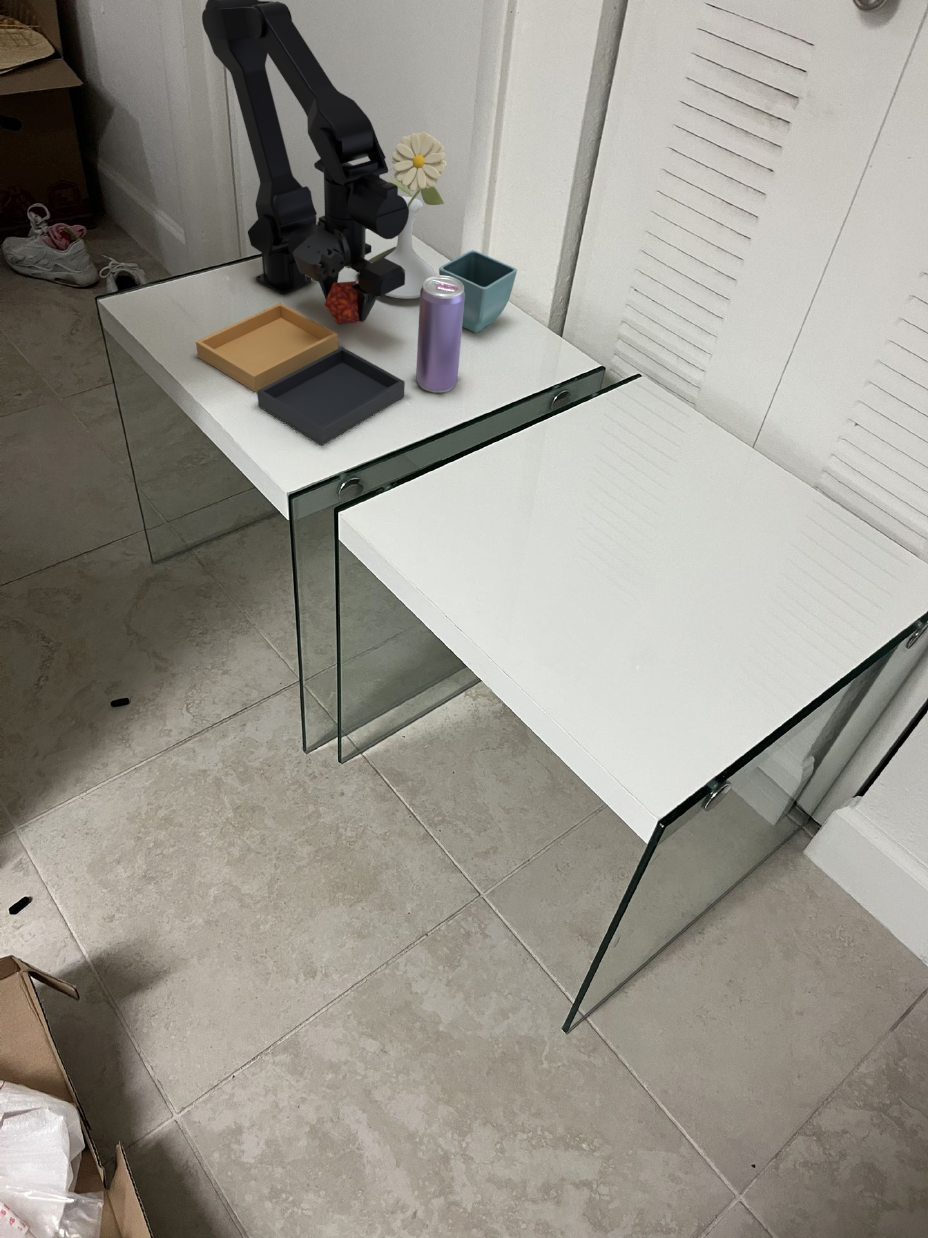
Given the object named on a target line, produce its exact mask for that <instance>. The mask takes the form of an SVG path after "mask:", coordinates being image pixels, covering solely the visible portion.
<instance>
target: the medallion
mask: <svg viewBox="0 0 928 1238" xmlns="http://www.w3.org/2000/svg"><path fill="white" fill-rule="evenodd" d="M396 247H397V245H396V246H393V247H391V248H389V249H387V250H385V251H382V252H380V253H378V254H377V255H375V256H373V257H371V258H370V259H367V260H368V261H370V262H372V263H373V262H375V261H377V260H380V259H382V258H384V257H385V256H387V255H389V254H390V253H392V252H393V251H394V250H395V249H396ZM355 272H356V273H358V272H357V271H355Z"/></svg>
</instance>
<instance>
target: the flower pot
mask: <svg viewBox="0 0 928 1238" xmlns="http://www.w3.org/2000/svg"><path fill="white" fill-rule="evenodd" d="M517 272H518V269H517V268H515V267H514V266H512V265H509V264H507V263H504V262H502V261H500V260H497V259H495V258H493V257H491V256H489V255H486V254H484V253H482V252H480V251H477V250H475V249H472V250H469V251H466V252H465V253H463V254H462V255H460V256H458V257H456V258H454V259H453V260H451V261H448V262H447V263H445V264H443V265H441V266H439V267H438V276H439V275H442V276H450V277H453V278H456V279H458V280H459V281H461V282H462V284H463V285H464V293H465V300H464V311H463V323H462V328H464V329H467V330H469V331H471V332H473V333H479V332H480V331H482V330H484V329H485V328H487V327H489V325H491V324H493V323H494V322H495V321H496V320H497V319H498V318H499V317H500V315H502V312H503V311H504V310H505V308H506V307H507V304H508V302H509V300H510V297H511V294H512V291H513V288H514V284H515V280H516V277H517V276H516V275H517Z"/></svg>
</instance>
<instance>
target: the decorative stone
mask: <svg viewBox="0 0 928 1238" xmlns="http://www.w3.org/2000/svg"><path fill="white" fill-rule="evenodd" d="M356 283H357V281H356V280H353V281H341V282H340V281H338V283H333V285H332V287H331V290H330V292H329V295H328V297H327V299H325V302H324V306H325V308H326V309H327V311H328V312H329V314H330V316H331V317H332V318H333V320H334V321H335V322H336V324H338V325H340V324H350V323H351V324H352V323H361V322H360V321H359V317H358V316H359V313H358V301H357V292H356V291H355V290H354V289H353V288H352V287H351V286H352V285H354V284H356Z"/></svg>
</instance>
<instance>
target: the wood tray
mask: <svg viewBox="0 0 928 1238" xmlns="http://www.w3.org/2000/svg"><path fill="white" fill-rule="evenodd" d="M195 346H196V354H197V357H198V359H201V360H202V361H204V362H205V363H207V364H209V365H210V366H212V367H213V368H216V369H217V370H218V371H220V372H222V373H223V374H225V375H227V376H228V377H230V378H232V379H233V380H235V381H237V382H238V383H240V384H242V385H243V386H245V387H246V388H248V389H250V390H252V391H253V392H255V393H257V391H258V390H260V389H262V388H264V387H266V386H268V385H270V384H271V383H273V382H275V381H277V380H279V379H281V378H283V377H285V376H287V375H289V374H291V373H293V372H295V371H296V370H298V369H300V368H302V367H304V366H306V365H308V364H310V363H312V362H314V361H316V360H318V359H320V358H321V357H323V356H325V355H327V354H329V353H331V352H333V351H335V350H337V349H339V334H338V333H337V332H335V331H334V330H332V329H330V328H328V327H325V326H324V325H322V324H320V323H319V322H316V321H315V320H313V319H312V318H310V317H308V316H306V315H304V314H303V313H300V312H298V311H297V310H295V309H293V308H292V307H290V306H288V305H286V304H284V303H282V302H279V303H277V304H275V305H272V306H270V307H267V308H265V309H263V310H262V311H258V312H257V313H255V314H253V315H251V316H248V317H246V318H243V319H242V320H239V321H237V322H235V323H233V324H231V325H229V326H227V327H224V328H222V329H220V330H217V331H215V332H214V333H212V334H209V335H206V336H204V337H203V338H200V339H198V340H196V341H195Z"/></svg>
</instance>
